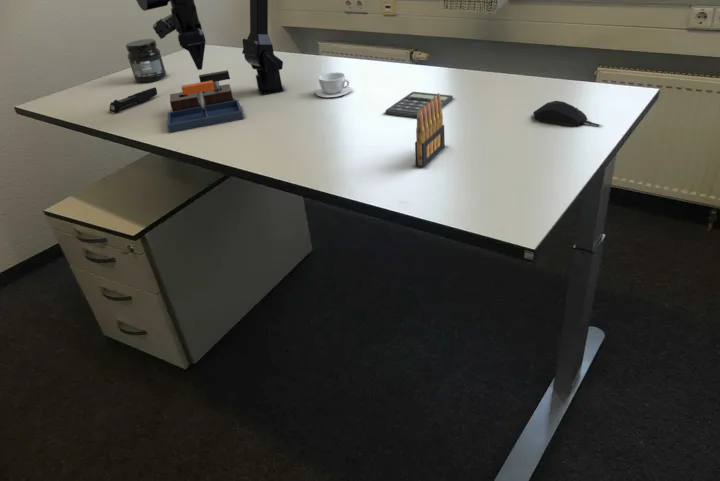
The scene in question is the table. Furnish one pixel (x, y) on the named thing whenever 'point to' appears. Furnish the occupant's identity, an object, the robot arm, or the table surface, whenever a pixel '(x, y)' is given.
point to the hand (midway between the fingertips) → (198, 65)
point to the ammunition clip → (429, 132)
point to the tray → (195, 119)
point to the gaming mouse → (561, 114)
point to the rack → (191, 100)
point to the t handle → (199, 93)
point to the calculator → (415, 103)
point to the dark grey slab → (215, 78)
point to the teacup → (333, 85)
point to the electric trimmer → (132, 100)
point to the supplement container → (145, 60)
